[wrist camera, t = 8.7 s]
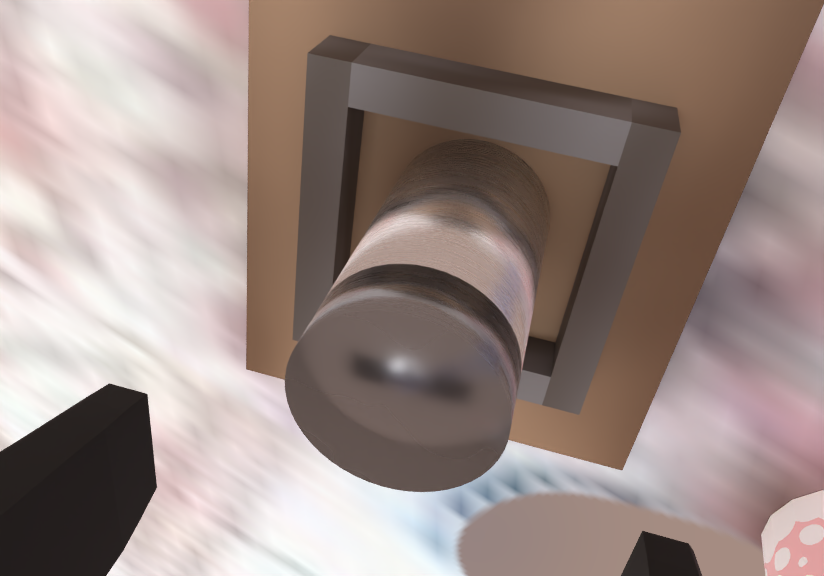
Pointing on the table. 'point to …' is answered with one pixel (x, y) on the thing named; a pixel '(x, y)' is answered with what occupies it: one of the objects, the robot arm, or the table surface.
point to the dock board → (540, 148)
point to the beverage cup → (795, 538)
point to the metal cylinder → (427, 324)
